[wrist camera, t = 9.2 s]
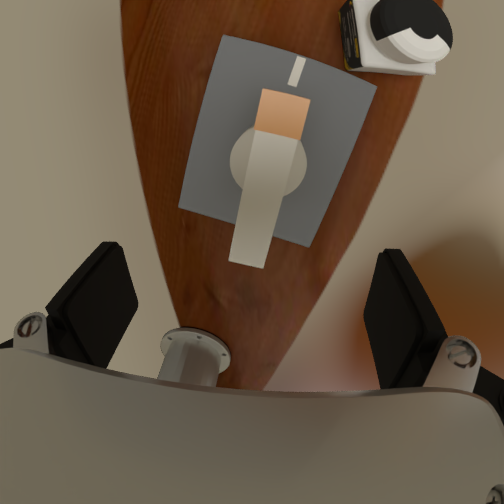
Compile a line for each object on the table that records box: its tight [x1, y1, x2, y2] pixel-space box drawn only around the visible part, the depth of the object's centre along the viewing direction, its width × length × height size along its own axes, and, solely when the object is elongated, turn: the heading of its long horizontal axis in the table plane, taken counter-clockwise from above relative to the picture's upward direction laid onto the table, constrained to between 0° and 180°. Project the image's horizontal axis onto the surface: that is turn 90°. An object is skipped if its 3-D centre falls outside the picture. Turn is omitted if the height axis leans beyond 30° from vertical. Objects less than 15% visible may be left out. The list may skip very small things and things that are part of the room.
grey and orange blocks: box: [228, 88, 310, 269], centre depth 21 cm, size 11×6×9 cm, turn 168°
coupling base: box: [178, 35, 377, 247], centre depth 27 cm, size 20×16×6 cm
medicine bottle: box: [338, 0, 453, 75], centre depth 17 cm, size 7×7×12 cm
